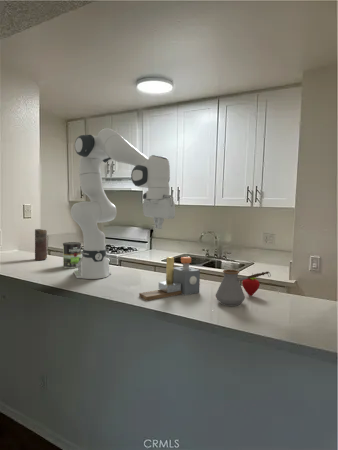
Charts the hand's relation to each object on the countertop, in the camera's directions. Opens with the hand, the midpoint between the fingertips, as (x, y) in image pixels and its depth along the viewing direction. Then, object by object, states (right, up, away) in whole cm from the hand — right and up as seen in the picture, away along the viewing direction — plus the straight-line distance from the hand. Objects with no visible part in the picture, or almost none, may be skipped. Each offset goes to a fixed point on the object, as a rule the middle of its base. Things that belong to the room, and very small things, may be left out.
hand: (158, 228), depth 129 cm
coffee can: (-53, -24, +57) cm, 82 cm away
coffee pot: (+33, -30, -8) cm, 45 cm away
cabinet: (+12, -28, +11) cm, 32 cm away
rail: (+1, -28, +3) cm, 29 cm away
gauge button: (+12, -24, +10) cm, 29 cm away
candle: (-80, -22, +76) cm, 113 cm away
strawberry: (+40, -29, +5) cm, 49 cm away
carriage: (+5, -26, +6) cm, 27 cm away
